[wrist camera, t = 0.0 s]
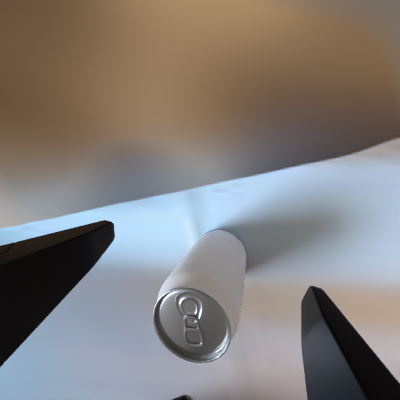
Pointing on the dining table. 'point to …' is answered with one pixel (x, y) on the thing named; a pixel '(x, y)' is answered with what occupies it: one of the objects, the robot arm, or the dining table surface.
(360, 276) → the dining table surface
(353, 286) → the dining table surface
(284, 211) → the dining table surface
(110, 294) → the dining table surface
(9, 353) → the robot arm
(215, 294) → the can
